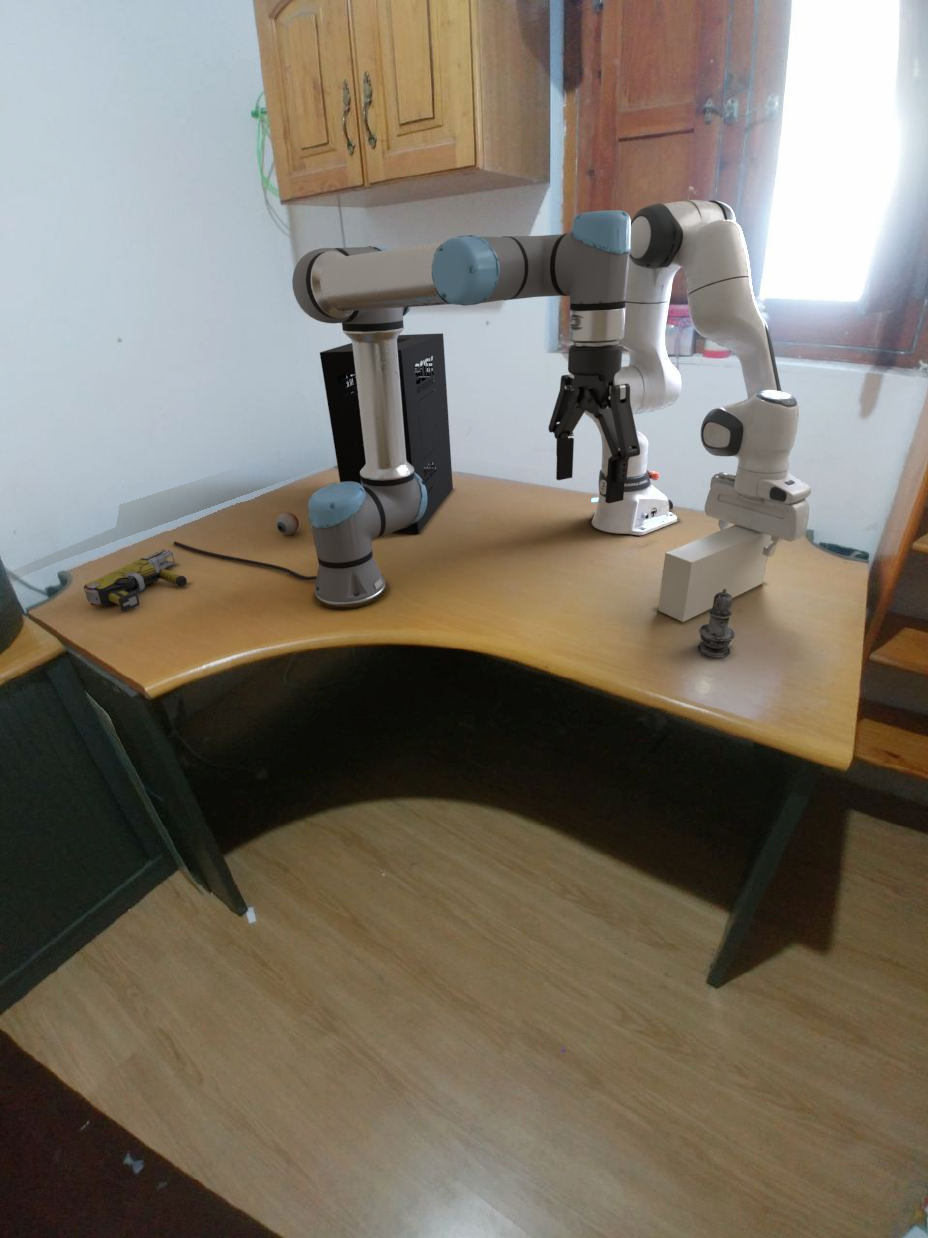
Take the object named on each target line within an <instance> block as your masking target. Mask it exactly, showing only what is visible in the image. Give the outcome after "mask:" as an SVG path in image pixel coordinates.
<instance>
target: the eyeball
mask: <svg viewBox="0 0 928 1238" xmlns="http://www.w3.org/2000/svg"><path fill="white" fill-rule="evenodd" d="M299 525H300V522H299V519H298V517H297V516H296V515H295V514H294V513H292V512H287V511H286V512H282V513H280V514H279V515H278V516H277V517H276V520H275V527H276V529H277V530H278V531H279V532H280V533H281V534H282V535H285V536H286V535H287V536H289V535H293V534H295V533H296V532H297V531H298V529H299Z"/></svg>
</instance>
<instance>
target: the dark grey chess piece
mask: <svg viewBox="0 0 928 1238" xmlns="http://www.w3.org/2000/svg"><path fill="white" fill-rule="evenodd" d="M726 592H727V590H726V589H724V590H723V592H720V593H717V594H716V595H715V597H714V601H713V607H712V608H711V609H709V610H708V613H709V615H710V617H709V622H708V623H705V624H702V625H701V626H700V627H699V628H698V633H699V634H700V635H699V636H700V640H701V642H700V643H698V645H697V649H698V651H699V652H700V653H701V654H703V655H705V656H707V657H710V658H715V659H716V658H720V659H721V658H726V657H727V656H729V655H730V653H731V648H730V647H729V646H730V644H731V643H732V641H733V640H734V639H735V637H736V632H735V630H734V629H732V627H730V626H729V622H730V619H731V617H732V616H733V613H732V611H731V610H732V605H733V598H732V596H731V595H730V594H728V593H726Z"/></svg>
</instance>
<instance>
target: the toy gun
mask: <svg viewBox="0 0 928 1238" xmlns="http://www.w3.org/2000/svg"><path fill="white" fill-rule="evenodd" d="M171 557H172V561H171V560H168V558H171ZM175 563H176V561H175V556H174V552H173V551H172V550H169V549H168V550H167V549H165V548H162V549H161V550H159V551H155V552H154V553H152V554H150V555H148V556H146V557H141V558H140V559H138V560H135V561H133V562H131V563H129V564H127V565H125V566H122V567H120V568H118V569H116V570H114V571H111V572H109V573H107V574H105V575H103V576H101V577H98V578H97V579H94V580H92V581H90V582H88V583H86V584H84V585H83V590H84V593H85V597H86V600H87V602H88V603H89V604H90V606H94V607H98V606H109V605H113V604H116V605H118V606H119V607H120V611H121V612H122V613H123V612H127V611H129V610H131V609H134V608H136V607H138V606H141V605H140V604H141V603H140V599H139V595H138V594H139V593H140V592H142V591H144V590H145V589H146V586H148V585H150V584H152V583H155V582H158V581H159V579H161V580H165V581H166V582H168V583H172V584H173V585H176V586H178V587H179V588H181V587H185V586H186V585H187V583H188V580H187V577H185V575H180V574H179V573H175V572H173V571H170V570H169V569H167V568H169V567H170V566H174V565H175Z"/></svg>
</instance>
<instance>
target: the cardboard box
mask: <svg viewBox="0 0 928 1238" xmlns="http://www.w3.org/2000/svg"><path fill="white" fill-rule="evenodd" d="M397 350H398V362H399V375H400V387H401V400H402V412H403V425H404V437H405V450H406V461H407V462H408V463H409V464H411V465H412V466H413V467H414V472H415V473H416V474H417V475H419V476H420V478H421V479H422V485H425V487H426V491H427V507H426V510H425V512H424V514H423V516H422V517H421V518H420V519H419V520H418V521H417V522H415V523H413V524H411V525H410V526H408V527H407V528H404V529H399V530H397V531H395V532H392V533H393V534H413V535H415V534H416V535H418V534H420V533H421V532H422V530H423V529H424V527H425V526H427V523H428V522H429V521H430V520H431V518H432V517H433V515H434V514H435V513H436V512H437V510H438V509H439V508H440V507H441V505H442V504H443V502H444V501H445V500H446V499H447V498H448V496H449V495H450V494H451V492H452V491H453V489H454V484H453V468H452V454H451V453H452V451H451V438H450V437H451V435H450V420H449V406H448V391H447V390H448V388H447V374H446V357H445V341H444V333H443V332H442V333H415V334H413V333H412V334H400V335H399V336H398V338H397ZM319 358H320V364H321V370H322V377H323V383H324V388H325V396H326V401H327V408H328V415H329V421H330V427H331V434H332V440H333V446H334V453H335V458H336V459H335V460H336V465H337V471H338V478H339V483H340V482H346V481H352V482H357V483H359V484H361V478H360V470H361V469H362V468H363V467H364V466H365V464H366V459H365V450H364V441H363V433H362V424H361V415H360V407H359V398H358V389H357V381H356V372H355V363H354V354H353V346H352V342H349V343H347V344H343V345H339V346H336V347H333V348H330V349H326V350H323V351H320V352H319ZM426 360H427V361H426ZM421 363H422V365H421ZM392 533H391V534H392Z"/></svg>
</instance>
